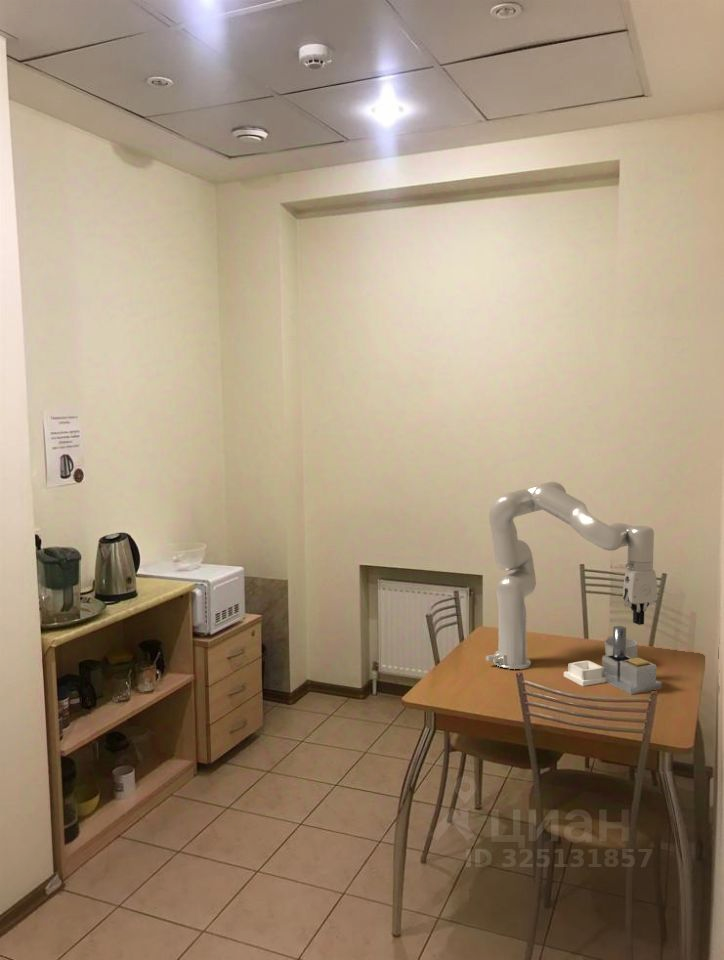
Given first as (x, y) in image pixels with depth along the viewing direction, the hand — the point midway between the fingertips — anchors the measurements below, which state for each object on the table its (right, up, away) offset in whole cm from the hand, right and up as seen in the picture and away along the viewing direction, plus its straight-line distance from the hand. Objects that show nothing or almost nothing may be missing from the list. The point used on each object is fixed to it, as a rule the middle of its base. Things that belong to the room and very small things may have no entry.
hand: (638, 623), depth 243 cm
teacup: (+3, -19, +26) cm, 32 cm away
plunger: (0, -18, +2) cm, 18 cm away
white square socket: (-14, -20, +10) cm, 26 cm away
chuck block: (-1, -20, +6) cm, 21 cm away
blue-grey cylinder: (-3, -18, +10) cm, 21 cm away
